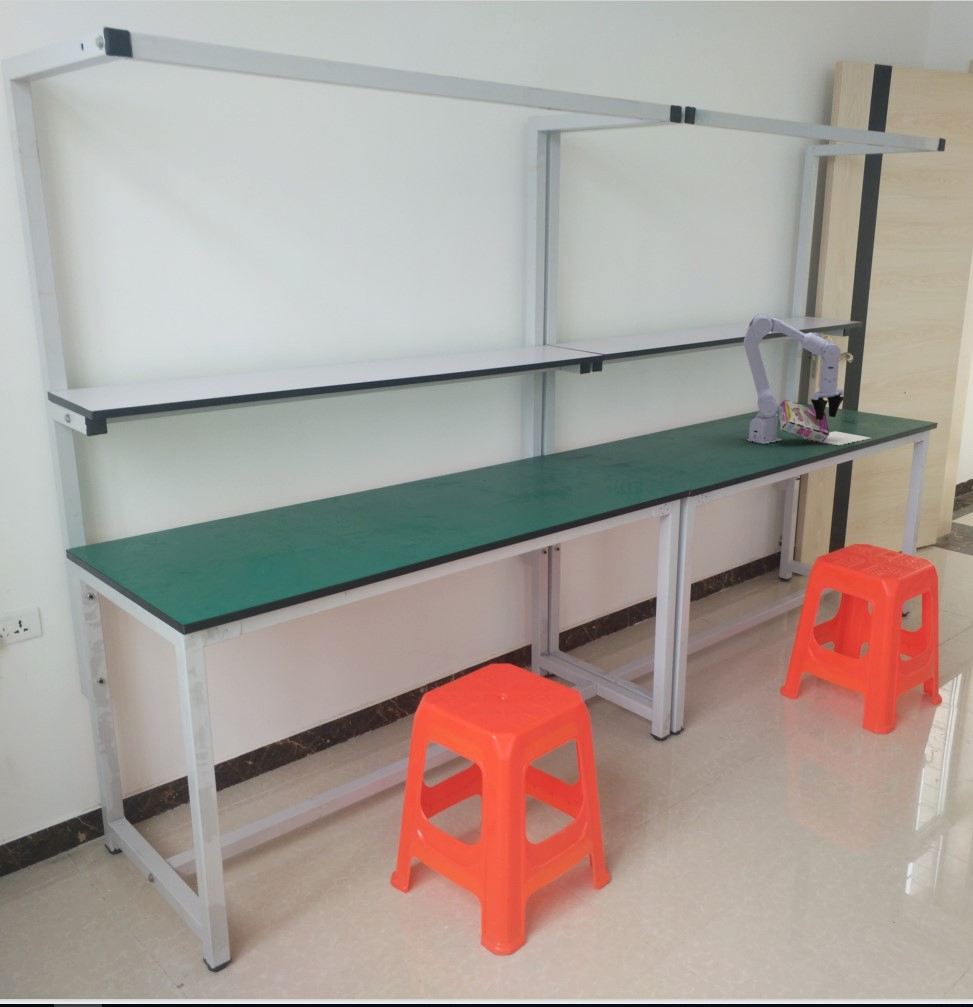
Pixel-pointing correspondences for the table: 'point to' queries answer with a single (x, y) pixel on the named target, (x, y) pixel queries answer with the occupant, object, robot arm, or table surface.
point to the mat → (842, 438)
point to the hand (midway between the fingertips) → (825, 418)
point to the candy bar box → (802, 421)
